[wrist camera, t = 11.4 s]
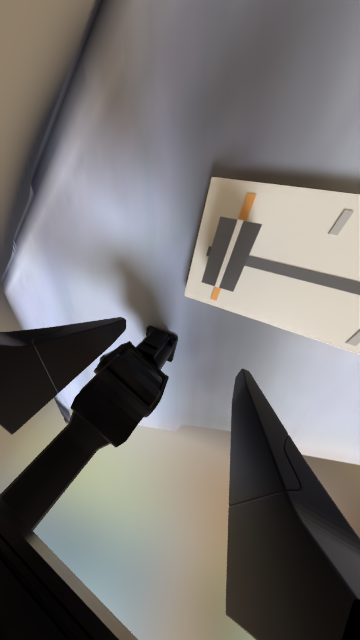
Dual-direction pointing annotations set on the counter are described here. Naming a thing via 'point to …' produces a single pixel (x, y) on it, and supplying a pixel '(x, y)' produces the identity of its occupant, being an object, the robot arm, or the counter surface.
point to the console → (288, 259)
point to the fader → (229, 252)
